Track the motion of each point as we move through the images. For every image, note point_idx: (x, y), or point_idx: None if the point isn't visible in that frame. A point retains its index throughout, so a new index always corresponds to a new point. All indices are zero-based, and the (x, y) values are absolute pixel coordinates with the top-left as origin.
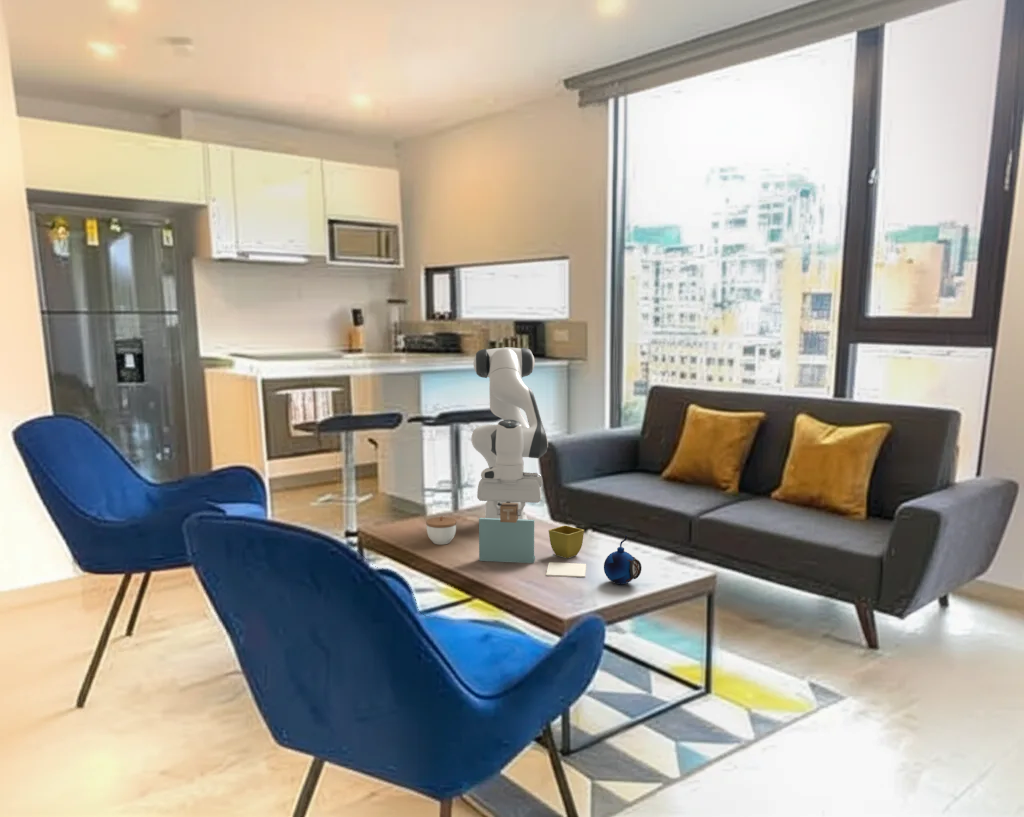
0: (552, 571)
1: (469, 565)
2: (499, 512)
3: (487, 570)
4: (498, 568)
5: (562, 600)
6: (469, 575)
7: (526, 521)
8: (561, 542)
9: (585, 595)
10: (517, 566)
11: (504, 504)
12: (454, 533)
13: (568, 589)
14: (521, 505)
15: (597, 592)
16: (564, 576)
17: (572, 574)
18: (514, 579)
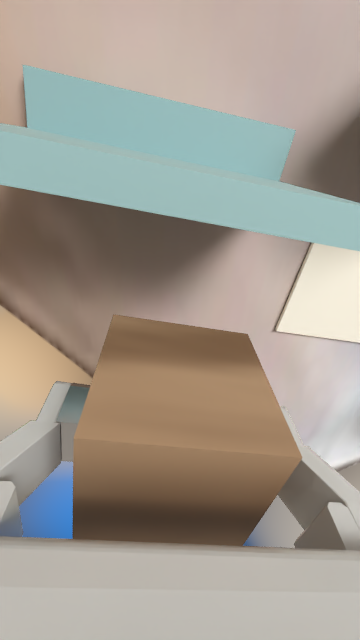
0: (304, 307)
1: (10, 219)
2: None
3: (92, 278)
4: (129, 258)
5: None
6: (41, 321)
7: (320, 243)
8: None
9: (321, 433)
10: (199, 238)
11: (111, 502)
12: None
13: (299, 408)
14: (302, 539)
15: (354, 421)
16: (325, 336)
17: (352, 333)
18: None
